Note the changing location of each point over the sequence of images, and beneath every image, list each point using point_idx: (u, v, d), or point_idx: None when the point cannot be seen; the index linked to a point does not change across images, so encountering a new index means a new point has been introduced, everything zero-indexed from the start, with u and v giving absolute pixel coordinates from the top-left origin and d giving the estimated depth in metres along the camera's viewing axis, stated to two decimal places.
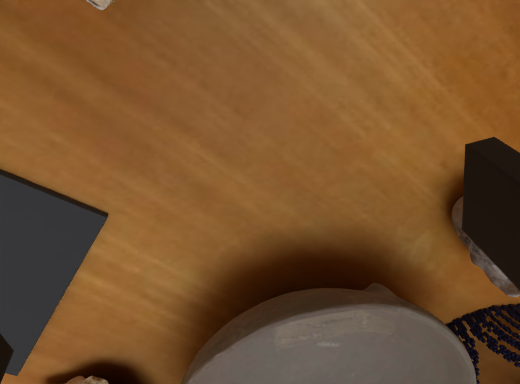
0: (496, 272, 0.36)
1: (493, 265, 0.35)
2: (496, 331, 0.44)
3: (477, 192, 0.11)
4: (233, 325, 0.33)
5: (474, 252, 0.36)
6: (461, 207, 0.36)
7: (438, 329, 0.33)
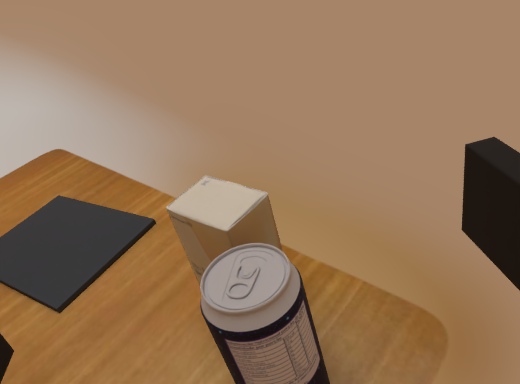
0: None
1: None
2: None
3: (477, 192, 0.11)
4: None
5: None
6: None
7: None
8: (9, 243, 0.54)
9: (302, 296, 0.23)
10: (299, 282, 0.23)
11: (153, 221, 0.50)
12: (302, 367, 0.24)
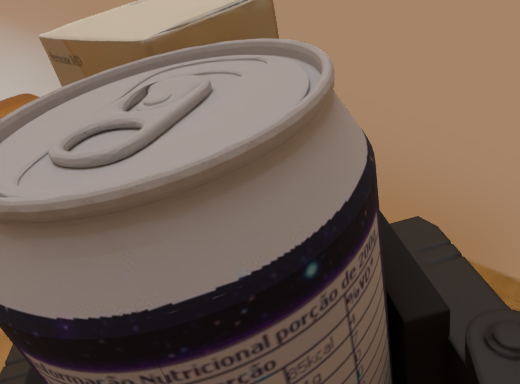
0: None
1: None
2: None
3: None
4: None
5: None
6: None
7: None
8: None
9: (375, 196, 0.05)
10: (363, 141, 0.06)
11: None
12: None
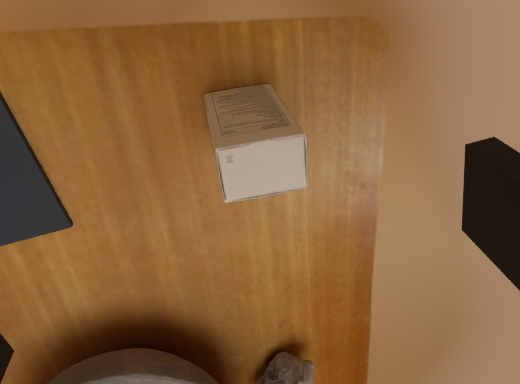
0: None
1: None
2: None
3: (477, 192, 0.11)
4: (176, 364, 0.45)
5: None
6: (287, 358, 0.54)
7: None
8: None
9: None
10: None
11: None
12: None
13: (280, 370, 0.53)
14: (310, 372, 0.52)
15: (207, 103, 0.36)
